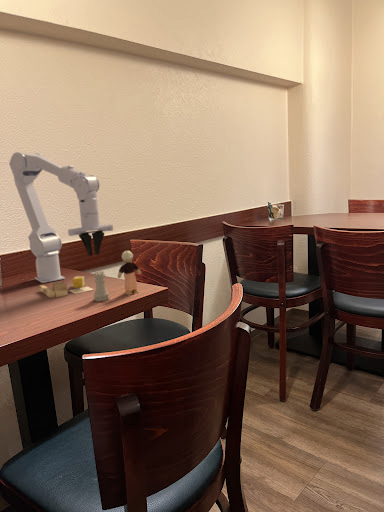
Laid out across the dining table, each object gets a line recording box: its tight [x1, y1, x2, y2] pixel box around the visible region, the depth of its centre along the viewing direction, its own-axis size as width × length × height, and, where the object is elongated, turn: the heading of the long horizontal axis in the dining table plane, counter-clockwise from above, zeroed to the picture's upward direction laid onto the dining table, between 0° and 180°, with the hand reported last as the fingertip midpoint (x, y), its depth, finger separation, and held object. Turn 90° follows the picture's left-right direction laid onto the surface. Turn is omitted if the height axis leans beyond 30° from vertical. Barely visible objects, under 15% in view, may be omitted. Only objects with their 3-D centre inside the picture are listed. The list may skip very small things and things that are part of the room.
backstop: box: [39, 284, 56, 299], centre depth 123 cm, size 12×1×2 cm, turn 36°
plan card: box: [69, 286, 94, 295], centre depth 125 cm, size 5×6×1 cm
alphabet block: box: [72, 275, 86, 289], centre depth 131 cm, size 3×3×3 cm
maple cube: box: [50, 281, 69, 298], centre depth 121 cm, size 4×4×4 cm
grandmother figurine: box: [117, 250, 142, 296], centre depth 118 cm, size 8×4×13 cm, turn 142°
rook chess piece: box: [93, 270, 111, 303], centre depth 113 cm, size 4×4×8 cm
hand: (93, 254), depth 133 cm, fingers closed
